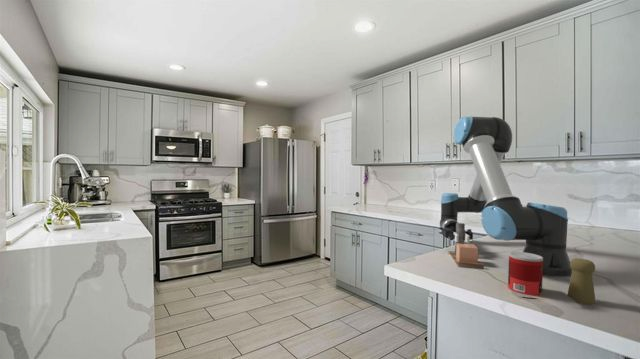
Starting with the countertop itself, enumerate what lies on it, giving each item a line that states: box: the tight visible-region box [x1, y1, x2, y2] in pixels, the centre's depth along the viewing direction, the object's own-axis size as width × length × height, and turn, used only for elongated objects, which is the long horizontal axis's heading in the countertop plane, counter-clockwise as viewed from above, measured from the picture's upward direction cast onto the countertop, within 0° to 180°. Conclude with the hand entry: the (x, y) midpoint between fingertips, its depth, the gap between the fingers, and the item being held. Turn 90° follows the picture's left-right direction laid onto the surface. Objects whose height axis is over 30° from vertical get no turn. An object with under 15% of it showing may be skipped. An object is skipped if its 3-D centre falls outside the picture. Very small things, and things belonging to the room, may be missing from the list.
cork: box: [566, 258, 597, 306], centre depth 83 cm, size 6×6×11 cm
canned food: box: [507, 251, 544, 300], centre depth 87 cm, size 8×8×11 cm
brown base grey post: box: [447, 222, 485, 270], centre depth 117 cm, size 22×8×13 cm, turn 166°
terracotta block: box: [455, 243, 479, 263], centre depth 113 cm, size 6×6×6 cm
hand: (462, 239), depth 120 cm, fingers closed on brown base grey post, 3 cm apart
